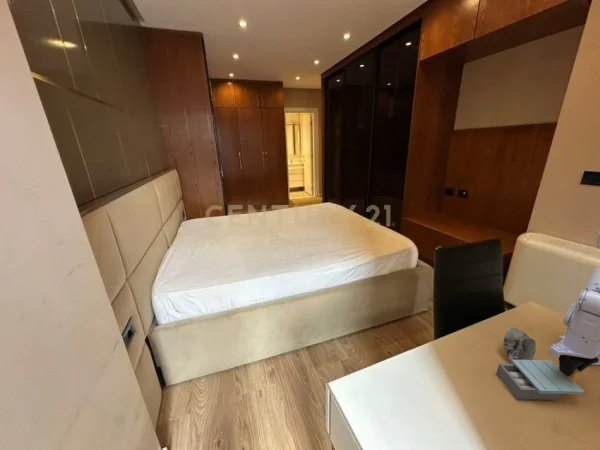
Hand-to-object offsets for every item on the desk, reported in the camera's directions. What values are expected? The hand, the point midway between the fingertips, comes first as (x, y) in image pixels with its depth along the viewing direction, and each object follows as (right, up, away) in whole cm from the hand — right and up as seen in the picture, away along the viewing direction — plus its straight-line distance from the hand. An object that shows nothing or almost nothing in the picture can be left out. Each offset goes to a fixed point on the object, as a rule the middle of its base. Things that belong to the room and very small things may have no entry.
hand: (568, 372), depth 67 cm
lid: (-5, -2, +1) cm, 6 cm away
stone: (-3, -2, +13) cm, 14 cm away
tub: (-10, -5, +2) cm, 12 cm away
